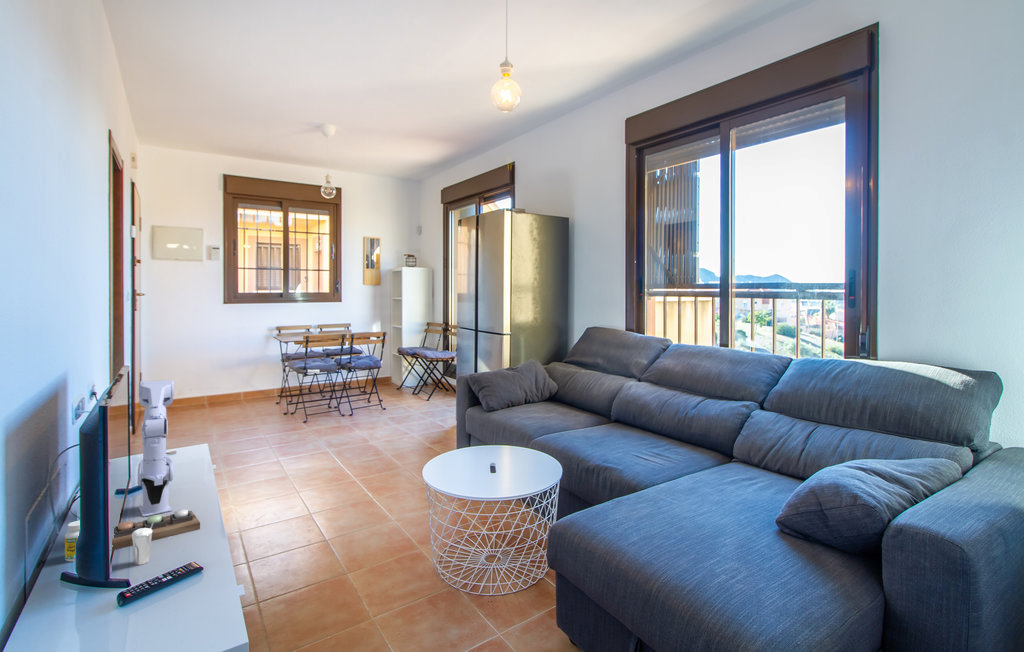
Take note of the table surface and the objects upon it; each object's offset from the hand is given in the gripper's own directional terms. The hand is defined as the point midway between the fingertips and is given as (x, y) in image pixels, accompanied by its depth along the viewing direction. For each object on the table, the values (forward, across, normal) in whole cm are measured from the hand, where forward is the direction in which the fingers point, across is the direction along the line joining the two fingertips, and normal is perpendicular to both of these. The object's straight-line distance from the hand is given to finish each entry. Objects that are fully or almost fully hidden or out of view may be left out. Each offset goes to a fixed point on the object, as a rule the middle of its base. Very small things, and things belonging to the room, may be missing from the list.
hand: (154, 502), depth 154 cm
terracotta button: (+6, 0, -7) cm, 9 cm away
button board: (+9, 0, 0) cm, 9 cm away
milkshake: (+10, +19, -5) cm, 22 cm away
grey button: (+6, 0, +7) cm, 9 cm away
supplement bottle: (+10, +5, -18) cm, 21 cm away
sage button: (+6, 0, 0) cm, 6 cm away
